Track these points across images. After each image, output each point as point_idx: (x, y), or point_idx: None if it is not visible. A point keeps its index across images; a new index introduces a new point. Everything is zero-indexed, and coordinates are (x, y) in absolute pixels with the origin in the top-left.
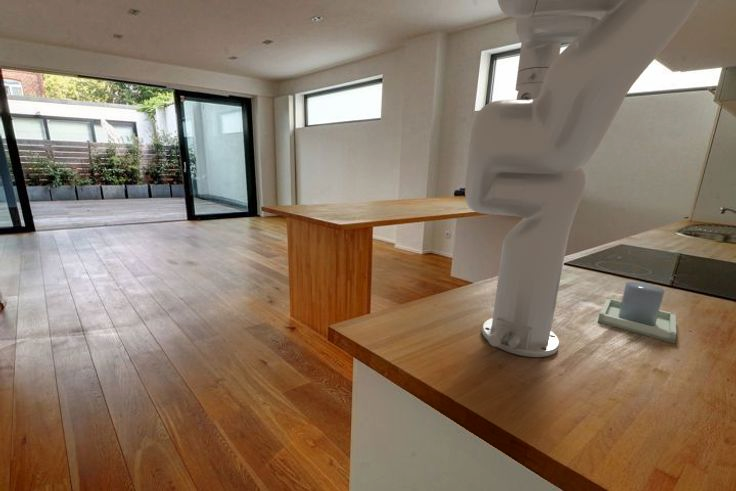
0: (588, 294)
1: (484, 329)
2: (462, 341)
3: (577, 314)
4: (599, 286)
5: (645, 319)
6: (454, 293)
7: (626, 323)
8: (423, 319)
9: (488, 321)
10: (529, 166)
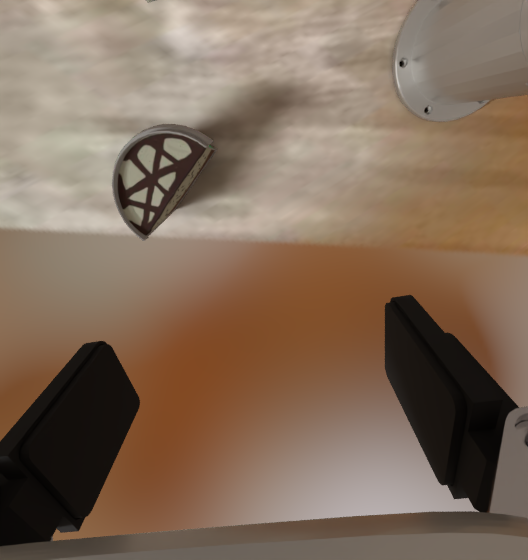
0: (120, 62)
1: (488, 100)
2: (520, 112)
3: (258, 25)
4: (40, 68)
5: None
6: (352, 237)
7: None
8: (485, 200)
9: (450, 115)
10: None
